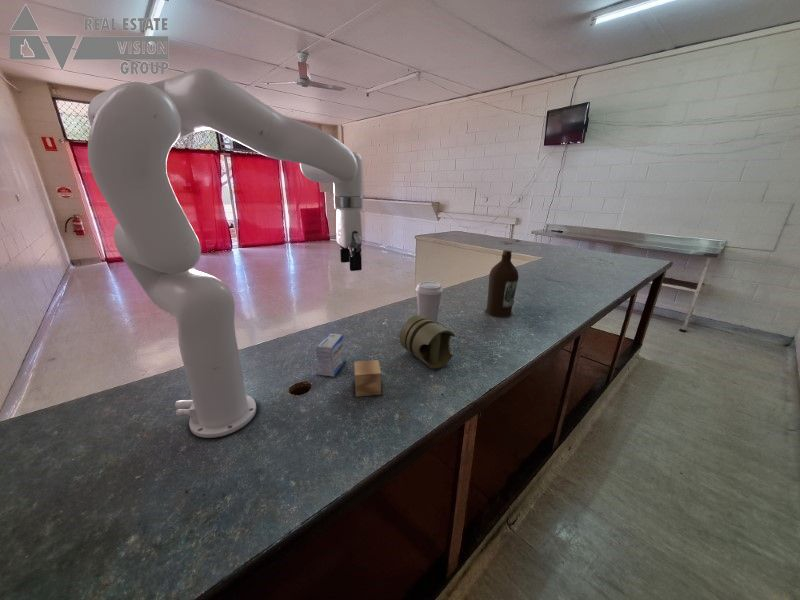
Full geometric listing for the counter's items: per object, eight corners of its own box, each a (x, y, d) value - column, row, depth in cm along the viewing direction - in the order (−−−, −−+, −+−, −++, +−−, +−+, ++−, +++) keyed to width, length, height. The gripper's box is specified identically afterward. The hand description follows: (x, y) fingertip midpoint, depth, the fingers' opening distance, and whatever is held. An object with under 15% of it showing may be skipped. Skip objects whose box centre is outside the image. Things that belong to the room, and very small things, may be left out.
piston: (423, 373, 85) (425, 336, 81) (399, 354, 94) (400, 319, 90) (454, 362, 90) (458, 326, 87) (428, 344, 100) (431, 311, 96)
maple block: (355, 396, 75) (355, 375, 73) (354, 381, 80) (354, 361, 78) (380, 394, 76) (381, 373, 74) (378, 380, 81) (378, 359, 79)
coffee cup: (411, 327, 111) (413, 287, 106) (416, 317, 120) (418, 279, 114) (438, 331, 109) (441, 290, 104) (441, 320, 118) (444, 281, 112)
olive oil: (479, 311, 127) (486, 249, 118) (496, 306, 133) (504, 247, 124) (501, 320, 119) (510, 255, 110) (517, 314, 125) (528, 252, 116)
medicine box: (333, 377, 82) (332, 348, 79) (317, 375, 83) (315, 346, 80) (344, 361, 89) (343, 334, 86) (330, 359, 90) (328, 332, 87)
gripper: (327, 201, 89) (330, 260, 96) (343, 206, 75) (345, 275, 81) (353, 201, 92) (354, 258, 98) (373, 205, 78) (373, 272, 84)
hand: (350, 266), depth 90 cm, fingers open, 9 cm apart
